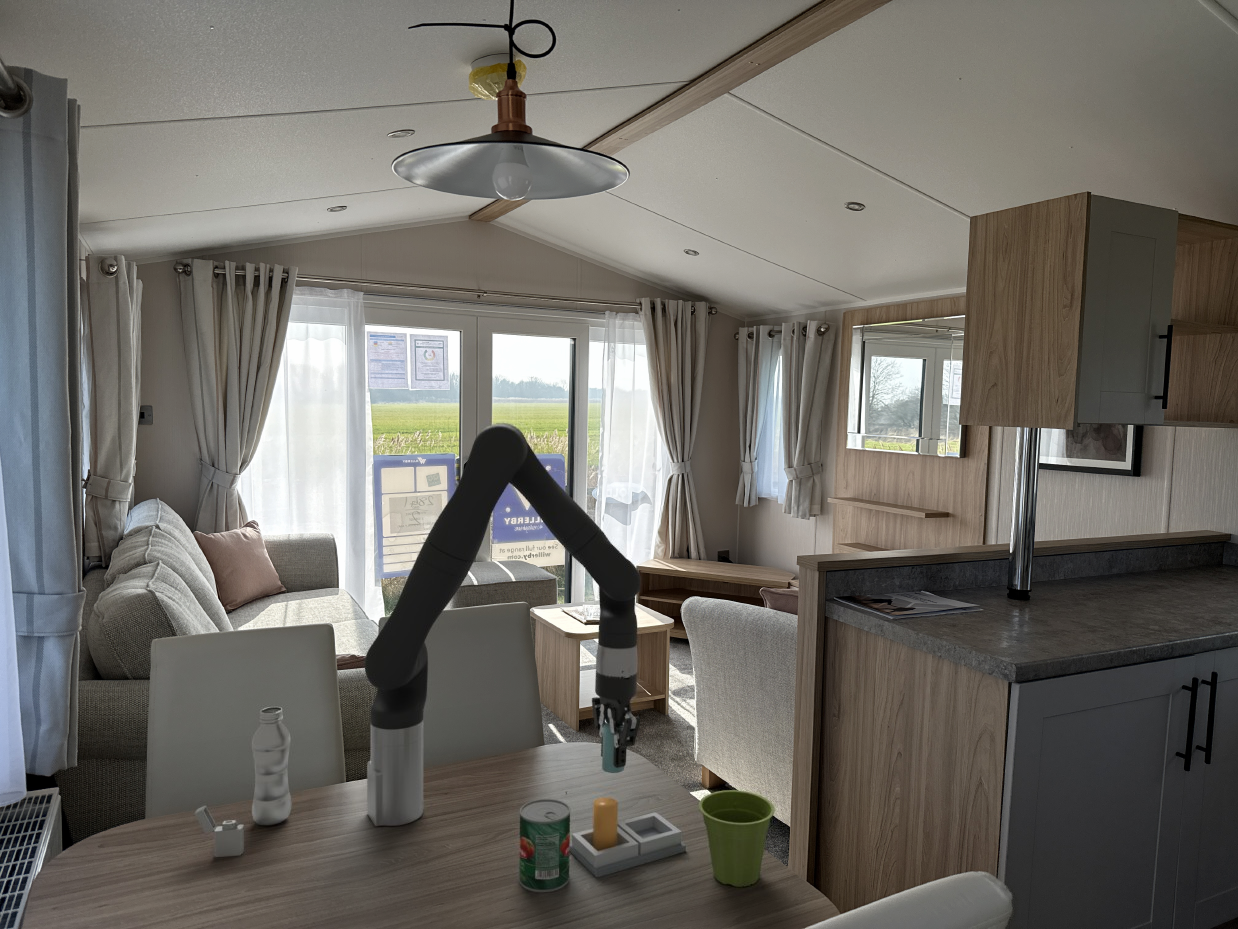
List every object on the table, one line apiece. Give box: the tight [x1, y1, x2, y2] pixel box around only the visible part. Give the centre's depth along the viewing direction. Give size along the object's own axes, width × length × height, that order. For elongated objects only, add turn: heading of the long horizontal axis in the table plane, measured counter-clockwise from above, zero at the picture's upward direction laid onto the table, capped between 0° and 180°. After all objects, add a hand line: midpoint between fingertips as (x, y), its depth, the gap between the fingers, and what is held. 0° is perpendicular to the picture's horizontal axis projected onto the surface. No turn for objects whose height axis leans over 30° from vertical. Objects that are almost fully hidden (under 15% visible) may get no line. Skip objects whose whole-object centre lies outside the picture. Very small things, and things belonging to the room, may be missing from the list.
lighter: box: [194, 805, 245, 858], centre depth 135 cm, size 7×2×8 cm, turn 101°
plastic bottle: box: [251, 706, 293, 826], centre depth 147 cm, size 6×7×20 cm
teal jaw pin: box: [601, 722, 625, 774], centre depth 151 cm, size 4×4×8 cm
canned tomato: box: [518, 798, 571, 893], centre depth 129 cm, size 8×8×11 cm
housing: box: [570, 812, 687, 878], centre depth 138 cm, size 17×10×3 cm, turn 120°
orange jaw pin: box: [592, 797, 619, 851], centre depth 136 cm, size 4×4×8 cm
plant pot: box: [698, 789, 776, 888], centre depth 131 cm, size 12×12×11 cm
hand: (613, 761), depth 151 cm, fingers closed on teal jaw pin, 4 cm apart
